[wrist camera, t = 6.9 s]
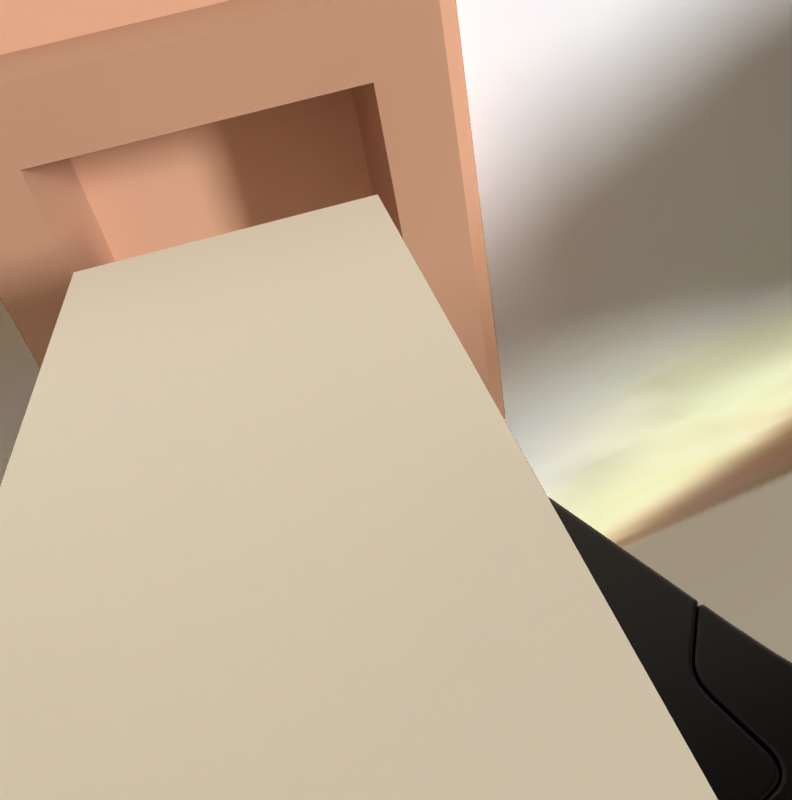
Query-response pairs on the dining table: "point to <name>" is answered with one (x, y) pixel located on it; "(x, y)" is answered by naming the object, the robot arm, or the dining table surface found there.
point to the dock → (233, 138)
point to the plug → (298, 550)
